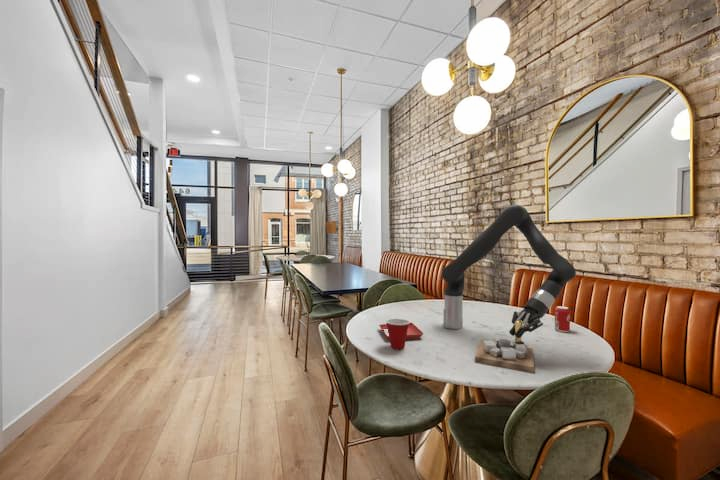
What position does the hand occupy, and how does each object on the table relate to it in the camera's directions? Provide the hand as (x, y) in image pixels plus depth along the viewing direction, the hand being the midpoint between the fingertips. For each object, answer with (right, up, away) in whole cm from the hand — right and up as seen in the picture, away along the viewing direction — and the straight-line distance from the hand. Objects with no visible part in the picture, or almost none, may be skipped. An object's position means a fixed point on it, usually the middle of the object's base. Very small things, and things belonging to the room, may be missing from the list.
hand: (513, 335), depth 119 cm
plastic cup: (-45, -10, +13) cm, 47 cm away
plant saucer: (-41, -10, +29) cm, 52 cm away
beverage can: (+41, -8, +32) cm, 53 cm away
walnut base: (-3, -9, +2) cm, 10 cm away
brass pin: (+2, -7, +1) cm, 7 cm away
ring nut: (-3, -7, +1) cm, 8 cm away
